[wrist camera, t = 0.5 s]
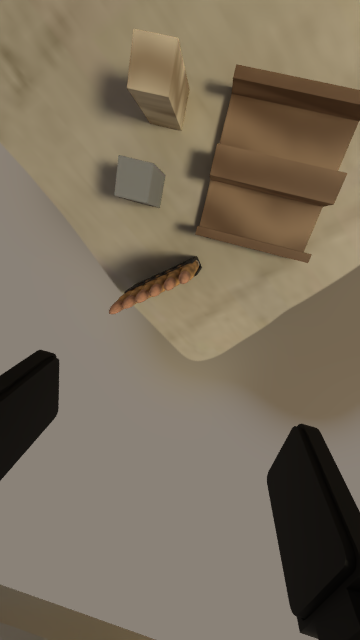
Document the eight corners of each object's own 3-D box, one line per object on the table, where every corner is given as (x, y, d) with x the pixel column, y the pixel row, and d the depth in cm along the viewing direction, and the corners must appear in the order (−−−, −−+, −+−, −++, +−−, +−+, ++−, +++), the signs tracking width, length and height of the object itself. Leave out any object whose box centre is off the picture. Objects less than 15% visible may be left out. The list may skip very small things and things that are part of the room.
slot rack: (234, 87, 27) (236, 64, 23) (358, 113, 26) (381, 94, 22) (198, 233, 33) (195, 234, 29) (297, 259, 32) (307, 263, 28)
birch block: (156, 82, 28) (133, 28, 20) (189, 89, 27) (178, 37, 20) (150, 123, 29) (126, 87, 22) (181, 130, 29) (168, 97, 22)
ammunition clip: (140, 295, 38) (107, 323, 26) (134, 284, 37) (98, 308, 26) (202, 267, 34) (193, 286, 23) (197, 255, 34) (186, 269, 23)
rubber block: (136, 168, 31) (118, 154, 26) (165, 175, 31) (153, 163, 25) (132, 201, 33) (114, 195, 27) (159, 207, 32) (147, 203, 27)
